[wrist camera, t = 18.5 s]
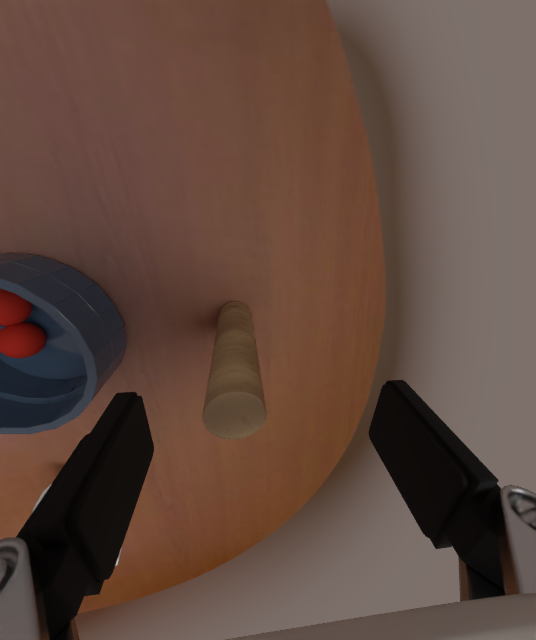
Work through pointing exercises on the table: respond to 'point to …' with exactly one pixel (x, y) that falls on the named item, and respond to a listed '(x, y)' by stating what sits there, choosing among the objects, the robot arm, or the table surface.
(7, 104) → the table surface
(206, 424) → the stick
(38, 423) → the bowl
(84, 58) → the table surface
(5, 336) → the ball
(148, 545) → the table surface
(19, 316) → the ball
